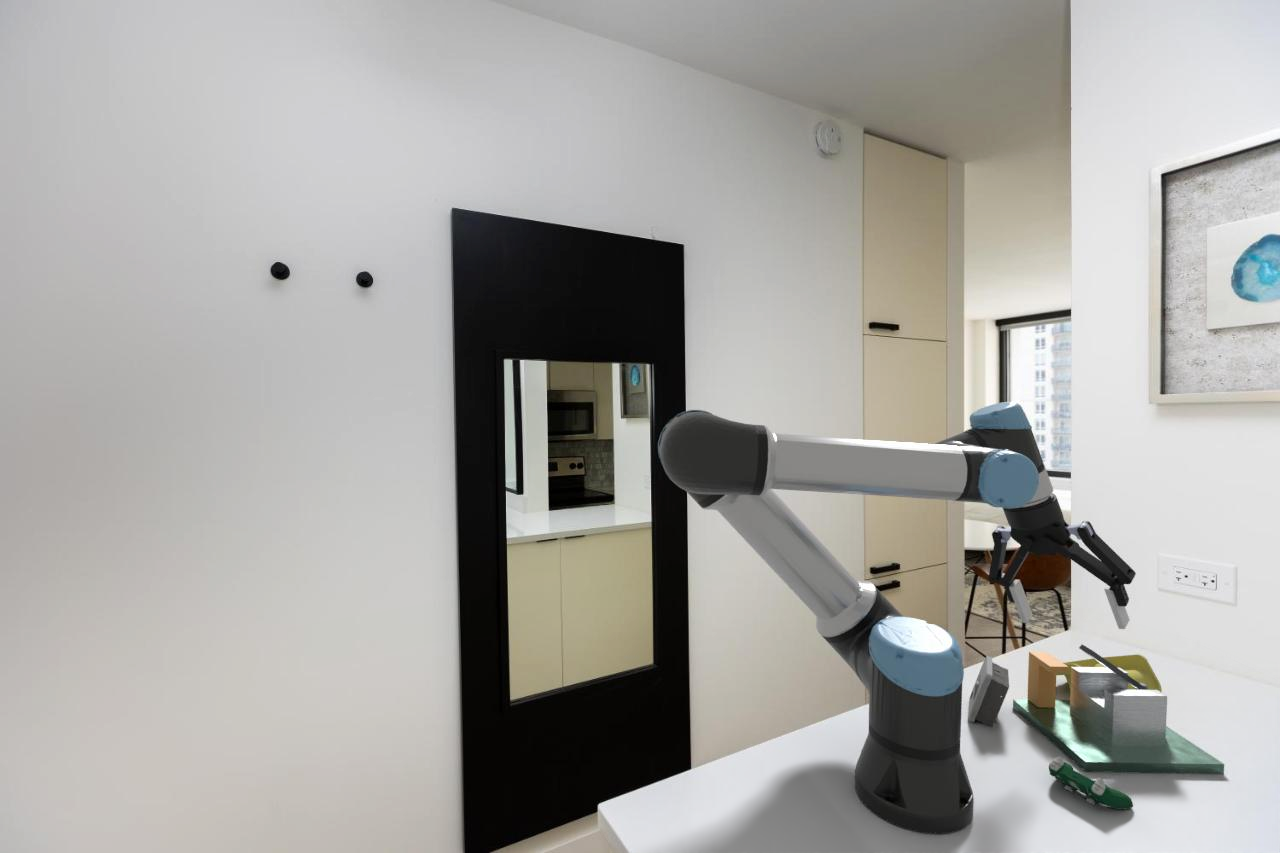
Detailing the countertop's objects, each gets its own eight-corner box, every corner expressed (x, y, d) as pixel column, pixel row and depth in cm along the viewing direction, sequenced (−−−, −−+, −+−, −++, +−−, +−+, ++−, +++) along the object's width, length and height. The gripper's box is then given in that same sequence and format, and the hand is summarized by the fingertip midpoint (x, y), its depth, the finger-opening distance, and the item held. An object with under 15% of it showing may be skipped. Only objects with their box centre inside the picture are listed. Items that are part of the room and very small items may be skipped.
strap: (1089, 655, 100) (1093, 650, 100) (1078, 648, 103) (1082, 643, 103) (1157, 703, 100) (1161, 698, 100) (1145, 695, 103) (1149, 690, 103)
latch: (1048, 716, 106) (1050, 666, 105) (1027, 698, 112) (1028, 651, 111) (1066, 716, 106) (1068, 666, 105) (1044, 699, 112) (1046, 651, 111)
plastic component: (1097, 657, 128) (1149, 653, 119) (1112, 697, 125) (1166, 695, 116) (1032, 667, 120) (1082, 663, 111) (1046, 709, 117) (1099, 708, 109)
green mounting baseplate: (1085, 771, 93) (1087, 709, 92) (1012, 707, 112) (1014, 655, 111) (1223, 773, 92) (1226, 711, 92) (1127, 708, 111) (1129, 656, 111)
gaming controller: (1055, 787, 92) (1036, 767, 90) (1067, 765, 93) (1049, 744, 91) (1124, 827, 84) (1105, 805, 82) (1137, 802, 85) (1119, 780, 83)
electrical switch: (969, 700, 115) (976, 651, 114) (1001, 709, 112) (1008, 660, 111) (967, 723, 107) (974, 671, 106) (1002, 734, 104) (1010, 681, 103)
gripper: (1128, 479, 91) (1177, 613, 92) (960, 496, 111) (1001, 606, 112) (1114, 500, 86) (1165, 641, 87) (941, 514, 106) (984, 628, 107)
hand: (1073, 621), depth 99 cm, fingers open, 13 cm apart
